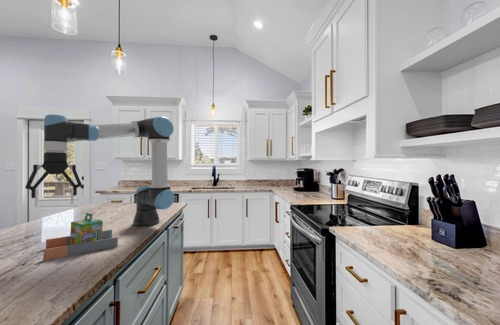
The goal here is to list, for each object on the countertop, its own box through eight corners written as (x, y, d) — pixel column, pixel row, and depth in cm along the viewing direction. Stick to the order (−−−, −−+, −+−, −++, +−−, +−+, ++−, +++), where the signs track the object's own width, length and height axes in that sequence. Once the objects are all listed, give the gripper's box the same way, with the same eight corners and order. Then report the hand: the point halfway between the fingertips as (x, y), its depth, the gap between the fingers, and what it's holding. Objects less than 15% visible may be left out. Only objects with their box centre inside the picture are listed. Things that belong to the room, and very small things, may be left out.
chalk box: (69, 248, 104) (69, 214, 104) (91, 242, 112) (91, 210, 112) (80, 252, 99) (81, 217, 99) (103, 245, 107) (103, 213, 107)
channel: (111, 237, 119) (111, 229, 119) (117, 246, 106) (117, 237, 106) (45, 248, 103) (46, 239, 103) (44, 260, 91) (44, 249, 91)
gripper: (88, 153, 109) (87, 200, 109) (18, 151, 94) (17, 206, 94) (89, 152, 103) (89, 203, 103) (15, 150, 89) (14, 209, 88)
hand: (54, 204), depth 99 cm, fingers open, 11 cm apart
